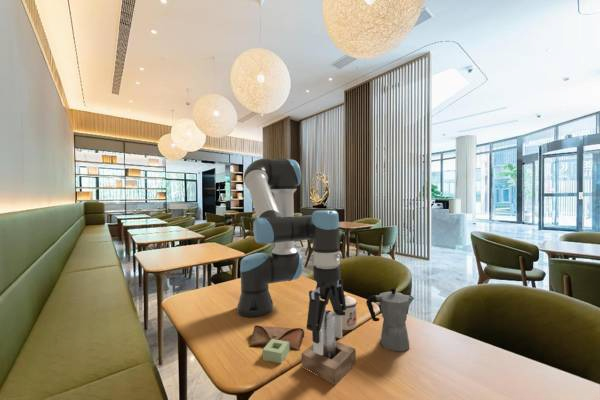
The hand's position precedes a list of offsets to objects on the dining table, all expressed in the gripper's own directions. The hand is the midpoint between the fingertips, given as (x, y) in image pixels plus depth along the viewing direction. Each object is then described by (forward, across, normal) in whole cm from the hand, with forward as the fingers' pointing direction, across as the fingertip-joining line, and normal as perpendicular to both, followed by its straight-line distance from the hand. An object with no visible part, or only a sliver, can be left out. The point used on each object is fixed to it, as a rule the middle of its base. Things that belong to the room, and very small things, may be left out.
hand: (328, 344), depth 72 cm
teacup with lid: (+6, +24, +8) cm, 26 cm away
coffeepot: (+6, +21, -10) cm, 24 cm away
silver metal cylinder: (+6, 0, 0) cm, 6 cm away
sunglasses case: (+7, -1, +20) cm, 22 cm away
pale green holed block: (+6, -6, +15) cm, 17 cm away
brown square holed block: (+6, 0, 0) cm, 6 cm away
